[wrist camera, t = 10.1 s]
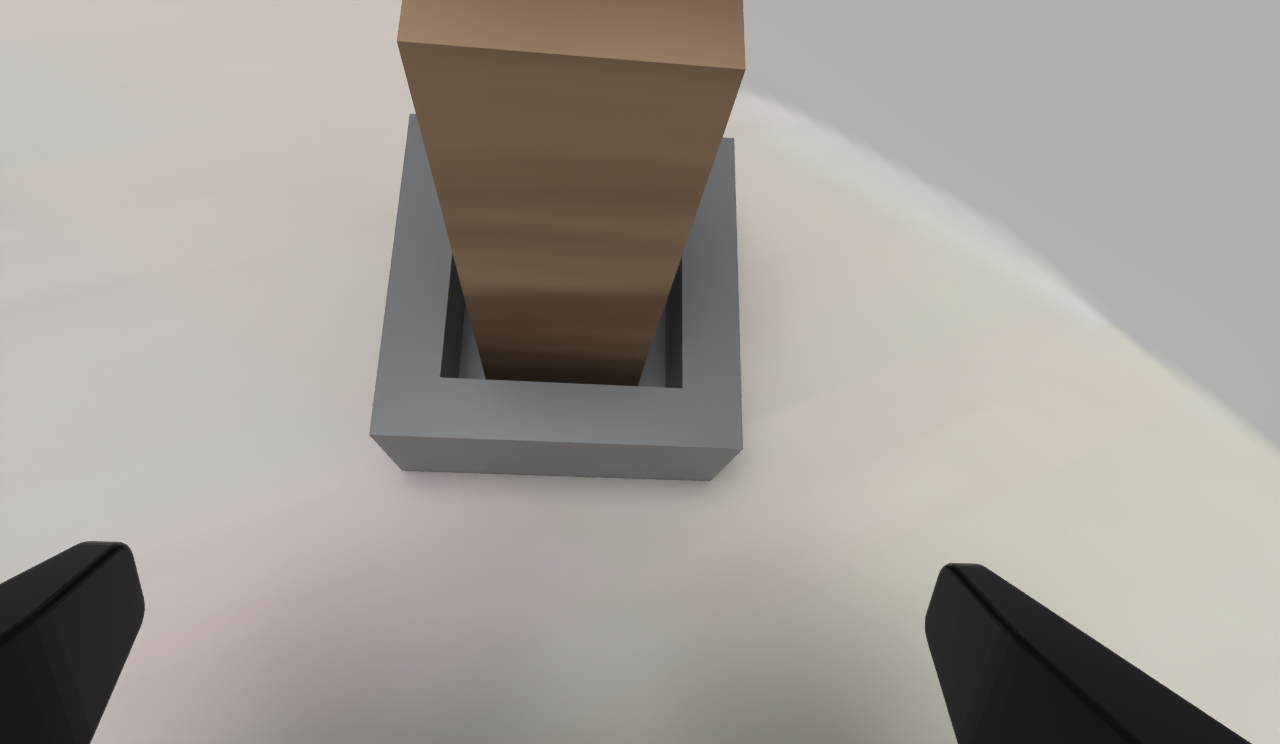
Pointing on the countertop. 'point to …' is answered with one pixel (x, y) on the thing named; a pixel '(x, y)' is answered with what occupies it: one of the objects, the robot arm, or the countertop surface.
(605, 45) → the tall wooden block
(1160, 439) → the countertop surface
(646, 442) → the end cap
